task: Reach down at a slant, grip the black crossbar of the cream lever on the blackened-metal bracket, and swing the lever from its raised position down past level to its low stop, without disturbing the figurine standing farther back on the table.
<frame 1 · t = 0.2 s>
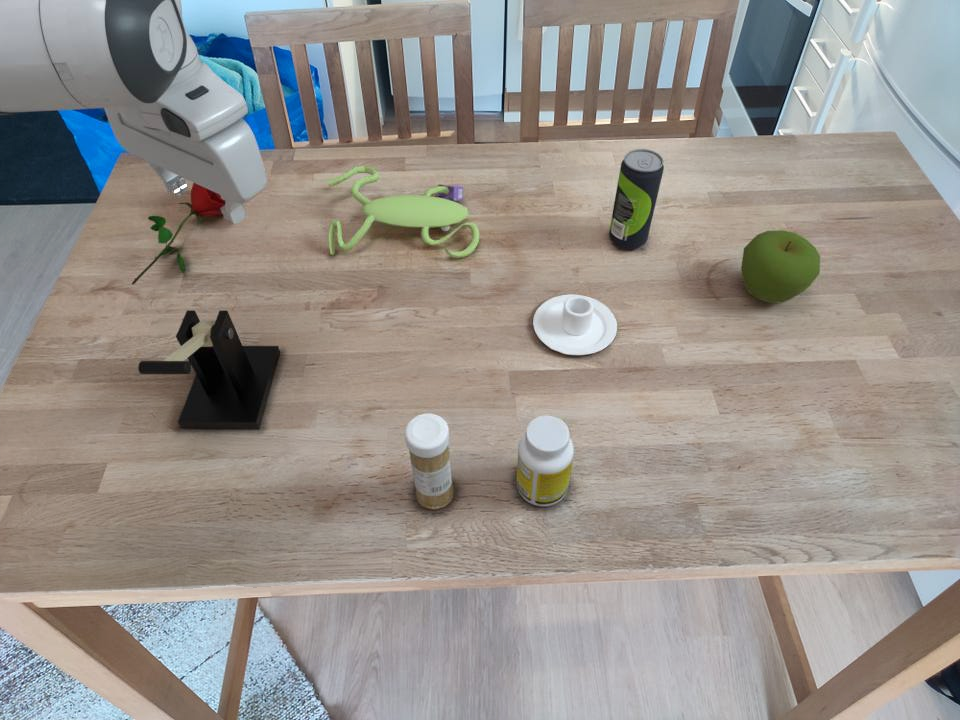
hand: (206, 205, 75), 24 cm above the table, tool pointing down, fingers open, 8 cm apart
bracket: (233, 389, 88), on the table
sprinkles bottle: (434, 494, 78), on the table
candle holder: (574, 327, 95), on the table
pill bottle: (541, 485, 79), on the table
beverage can: (627, 241, 108), on the table
lever: (188, 348, 75), point 13 cm above the table, hinge at 28.0°
flower: (196, 245, 108), on the table
figurine: (399, 225, 111), on the table
apple: (766, 293, 99), on the table
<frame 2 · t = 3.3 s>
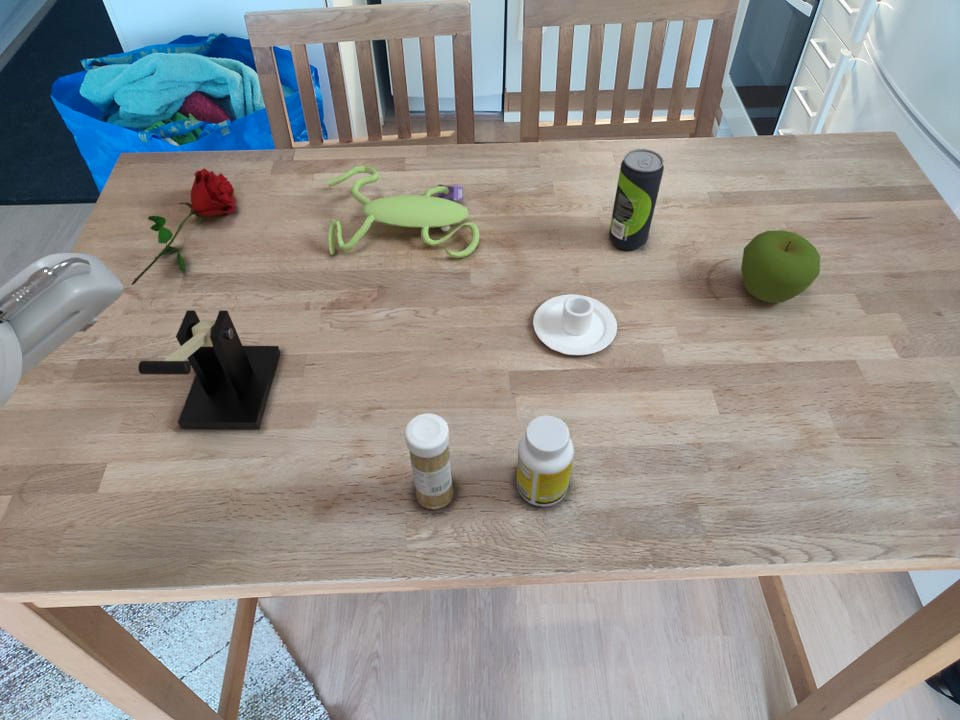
hand: (40, 355, 55), 28 cm above the table, tool tilted 45°, fingers open, 8 cm apart
nothing on the table moved.
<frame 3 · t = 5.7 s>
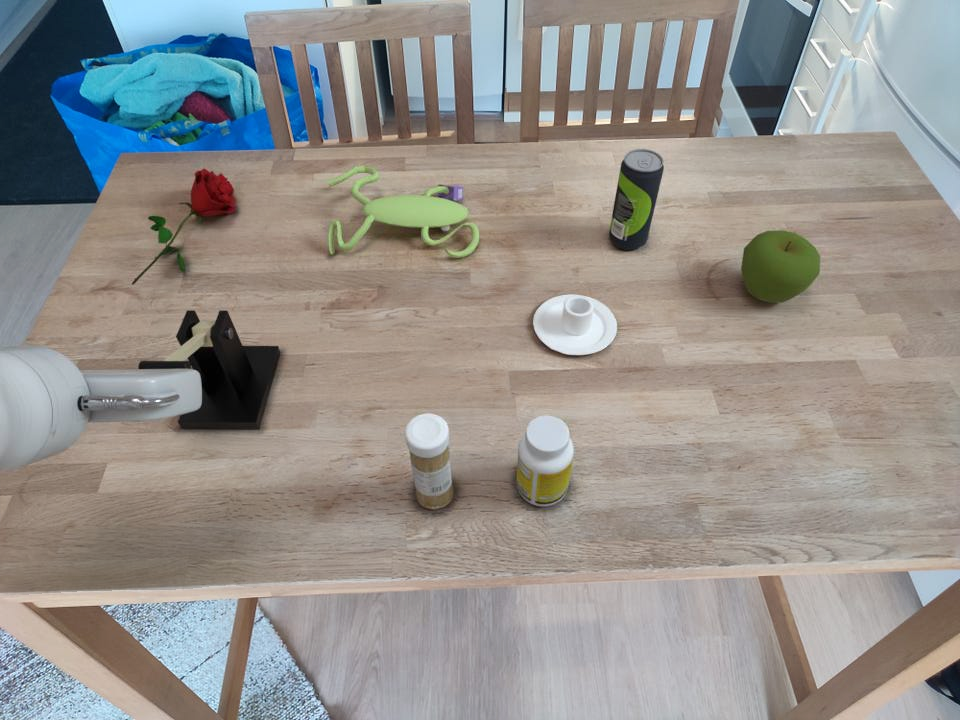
hand: (121, 383, 63), 20 cm above the table, tool tilted 45°, fingers open, 8 cm apart
nothing on the table moved.
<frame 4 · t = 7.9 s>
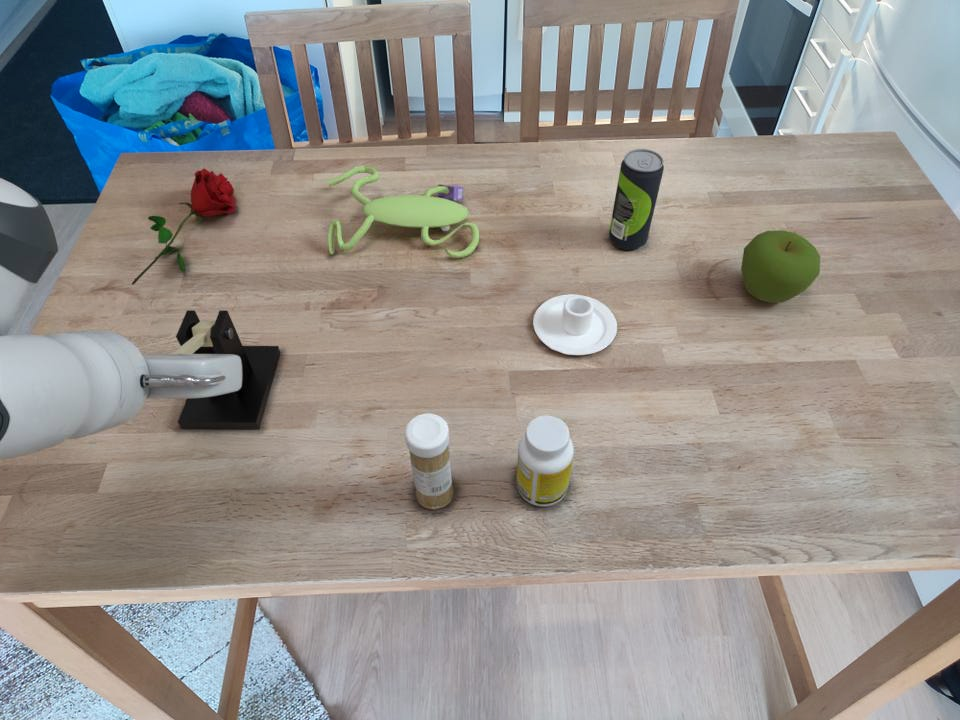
hand: (168, 367, 71), 16 cm above the table, tool tilted 45°, fingers closed on lever, 5 cm apart
lever: (188, 348, 75), point 13 cm above the table, hinge at 28.0°, touching gripper
everything else where it was.
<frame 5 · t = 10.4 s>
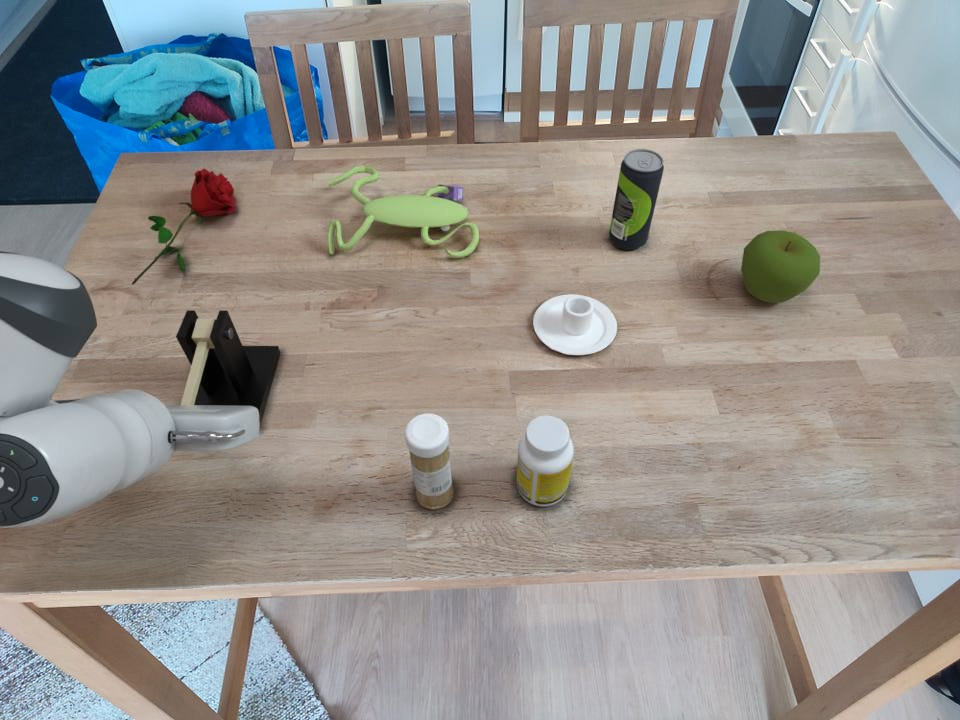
hand: (189, 413, 76), 8 cm above the table, tool tilted 45°, fingers closed on lever, 5 cm apart
lever: (196, 370, 77), point 10 cm above the table, hinge at -9.1°, touching gripper
everything else where it was.
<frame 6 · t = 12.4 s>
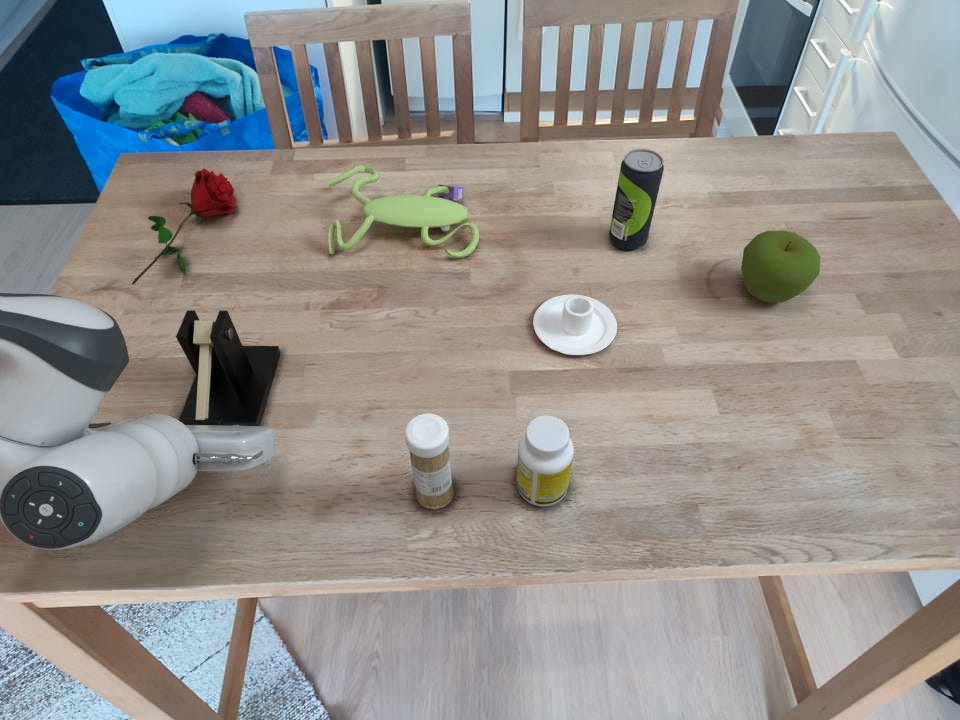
hand: (208, 430, 81), 3 cm above the table, tool tilted 45°, fingers closed on lever, 5 cm apart
lever: (204, 375, 79), point 8 cm above the table, hinge at -33.2°, touching gripper
everything else where it was.
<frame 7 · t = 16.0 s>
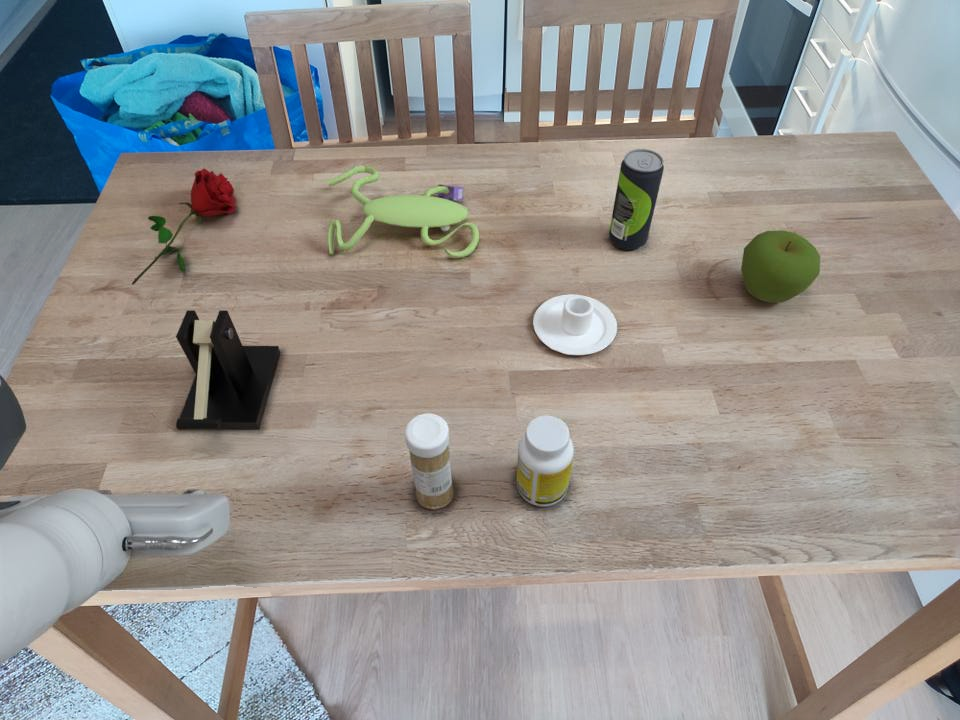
hand: (151, 497, 67), 9 cm above the table, tool tilted 45°, fingers open, 8 cm apart
lever: (203, 375, 79), point 8 cm above the table, hinge at -30.6°
everything else where it was.
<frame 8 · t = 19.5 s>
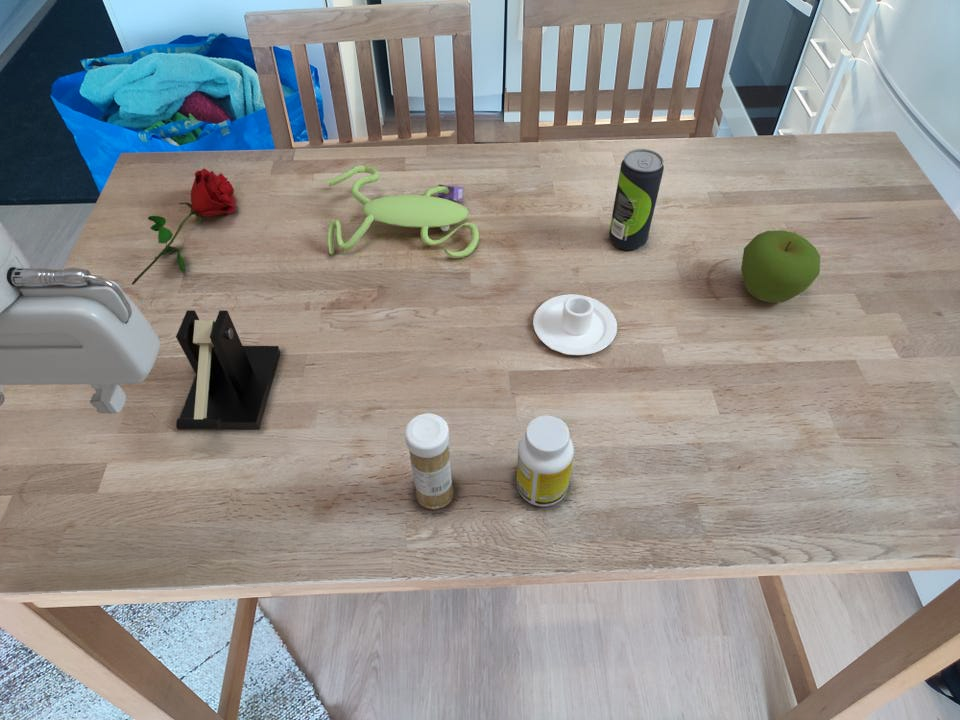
hand: (52, 406, 50), 29 cm above the table, tool pointing down, fingers open, 8 cm apart
nothing on the table moved.
at the end: lever at -31° (first picture: +28°); figurine moved 0.2 cm from its start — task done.
